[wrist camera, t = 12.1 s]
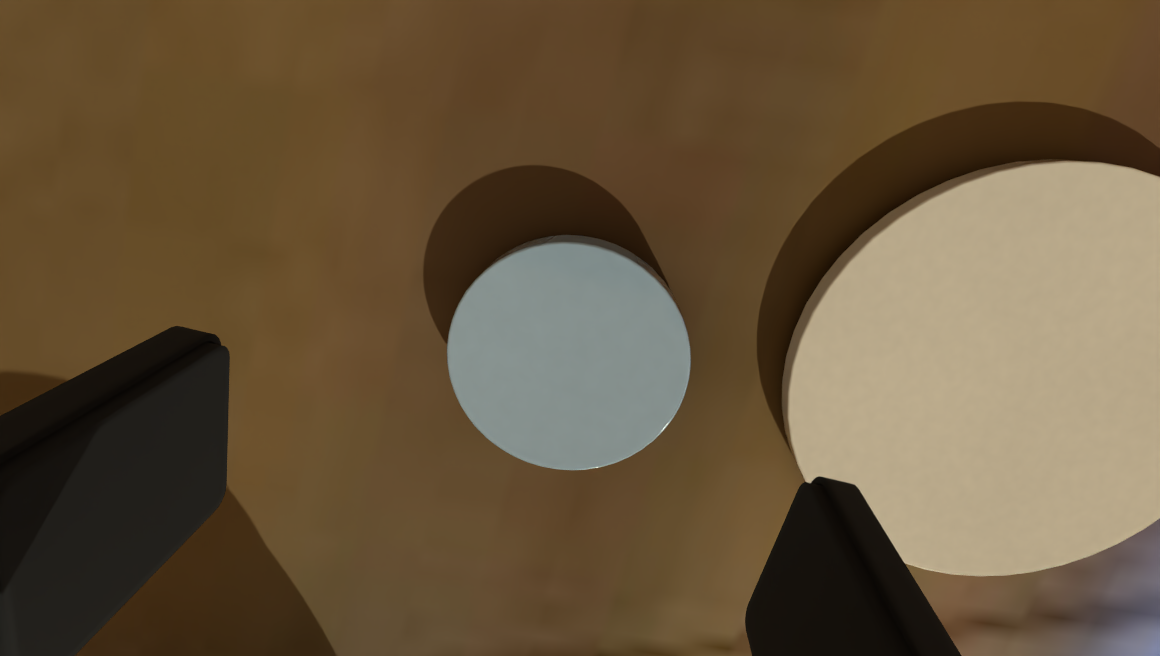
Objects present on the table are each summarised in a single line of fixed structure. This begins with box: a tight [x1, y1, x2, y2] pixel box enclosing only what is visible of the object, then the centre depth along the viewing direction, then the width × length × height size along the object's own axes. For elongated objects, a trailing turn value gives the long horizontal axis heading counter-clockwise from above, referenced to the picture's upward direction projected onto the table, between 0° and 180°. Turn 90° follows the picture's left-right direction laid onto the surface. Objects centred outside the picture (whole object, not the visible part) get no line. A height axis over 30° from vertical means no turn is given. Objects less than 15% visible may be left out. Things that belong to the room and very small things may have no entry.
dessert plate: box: [782, 159, 1160, 576], centre depth 18 cm, size 13×13×1 cm
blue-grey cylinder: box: [447, 235, 691, 470], centre depth 19 cm, size 7×7×2 cm
